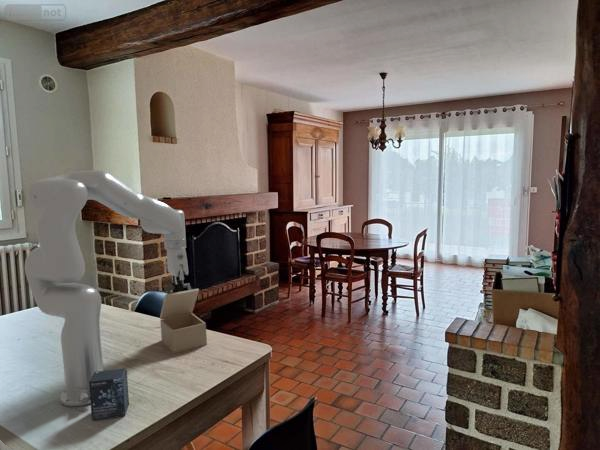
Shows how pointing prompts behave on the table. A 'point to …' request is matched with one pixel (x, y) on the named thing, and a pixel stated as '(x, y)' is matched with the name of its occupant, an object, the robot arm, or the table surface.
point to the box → (109, 394)
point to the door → (178, 302)
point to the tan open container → (183, 332)
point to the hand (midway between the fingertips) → (178, 293)
